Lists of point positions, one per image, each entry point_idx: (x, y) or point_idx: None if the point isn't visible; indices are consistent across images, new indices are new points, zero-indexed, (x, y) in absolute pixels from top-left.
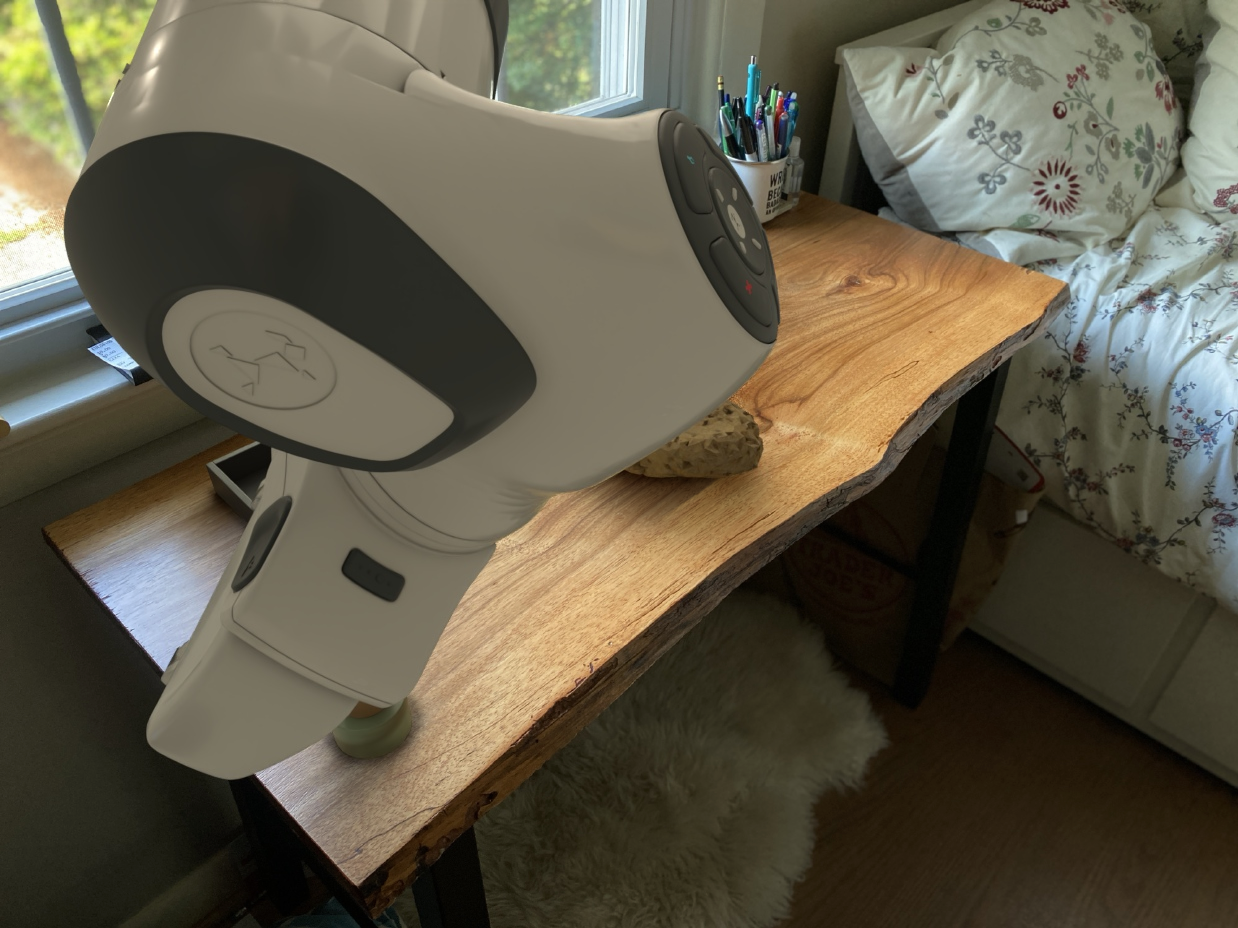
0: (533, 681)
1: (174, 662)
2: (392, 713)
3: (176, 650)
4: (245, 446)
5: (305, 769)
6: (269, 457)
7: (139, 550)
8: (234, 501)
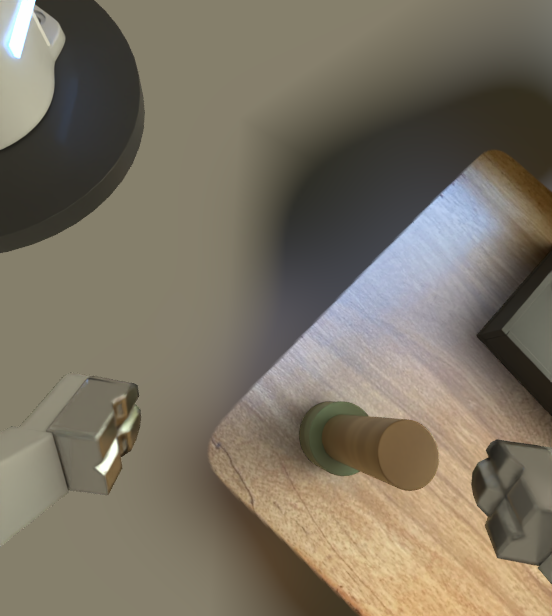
0: (378, 583)
1: (64, 405)
2: (326, 467)
3: (119, 389)
4: None
5: (290, 385)
6: None
7: (487, 205)
8: (546, 265)
